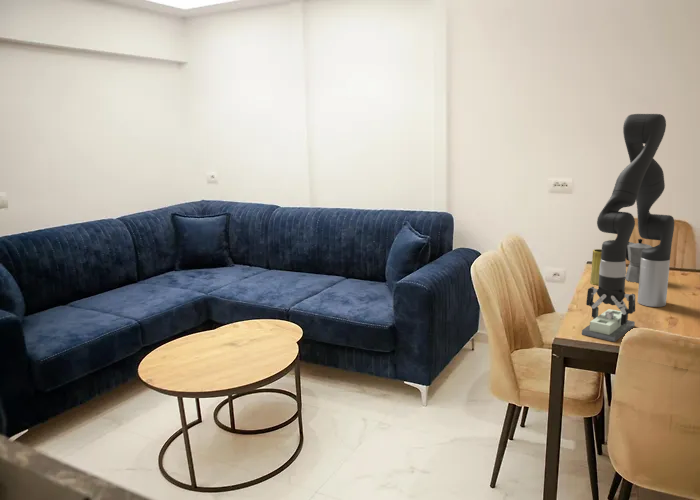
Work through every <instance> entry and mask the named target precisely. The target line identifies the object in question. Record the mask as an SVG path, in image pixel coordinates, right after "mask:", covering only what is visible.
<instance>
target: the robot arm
mask: <svg viewBox="0 0 700 500" xmlns="http://www.w3.org/2000/svg"><path fill="white" fill-rule="evenodd" d="M666 121H667V120H666V118H665V116H664V114H660V113H633V114H629V115H627V117H626V118H625V120H624V122H623V127H622V128H623V129H622V130H623V131H622V133H623V139H624V142H625V147H626V150H627V153H628V157H629V158H628V159H629V162H630V163H629V164H628V165H627V166H626V167H625V168H623V169H622V170H621V172H620V173H619V175H618V176H617V179H616V181H615V184H614V187H613V190H612V193H611V196H610V197H609V198H608V200H607V202H606V204H605V205H604V206H603V208H602V209H601V211H600V212H599V214H598V216H597V220H596V227H597V228H598V230H599V231H600V232H603V233H607V234H615V235H616V238H615V239H610V240H605V241H603V242H602V243H601V244H602V245H601V249H602V253H601V263H600V271H599V285H598V288H595V286H591V287H588V289H587V293H586V301H585V302H586V303H585V304H586V306H589V307H591V317H592V318H593V319H595V318H596V317H598V316H599V306H600V305H601V304H602V303H603V304H605V305H611V306H616V307H617V308H618V309H619V311H621V312H622V313H623V314H621V325H625V324H626V323H627V322H628V319H629V314H630V315H632V314H633V313H634V312H635V311H636V294H635V293H631V294H629V293H626V291H625V285H626V279H625V277H626V273H627V264H626V249H627V245H628V242H630V239H631V236H632V233H634V232H633V231H634V229H635V225H636V220H635V219H636V218H635V217H634V215H633V214H632V213H630V212H628V211H620V210H621V209H624V208H629V207H633V206H634V205H635V203H636V208H637V209H636V211H637V228H638V229H637V230H638V234H639V237H640V238H641V239H646V240H653V241H660V242H659V244H658V245H655V246H652V247H651V248H646V249H643V250H642V252H641V263H640V276H639V283H638V290H637V304H640V305H643V306H646V307H652V308H653V307H655V308H657V307H658V308H661V307H665V306H666V304H667V296H668V295H667V294H668V286H669V277H670V276H669V275H670V263H671V253H672V245H673V244H672V243H673V238H674V232H675V218H674V217H673V216H672V215H669V214H656V213H651V212H650V210H651V208H652V206H653V205H654V204H655V203H656V201H658V200H659V198H660V197H661V196H662V194H663V192H664V191H665V186H666V184H665V175H664V171H663V168H662V166H661V165H660V164H659V163H658V161H657V160H655V159H654V157H655V155H656V154H657V152H658V149H659V147H660V144H661V142H662V141H663V139H664V136H665V132H666V128H667V122H666ZM596 294H597V296H598V297H599V298H598V299H597V300H596V301H595V302H594V296H595V295H596ZM624 299H626V301H627V302H628V307H627V306H626V303H625V301H624ZM593 319H592V320H593Z"/></svg>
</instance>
